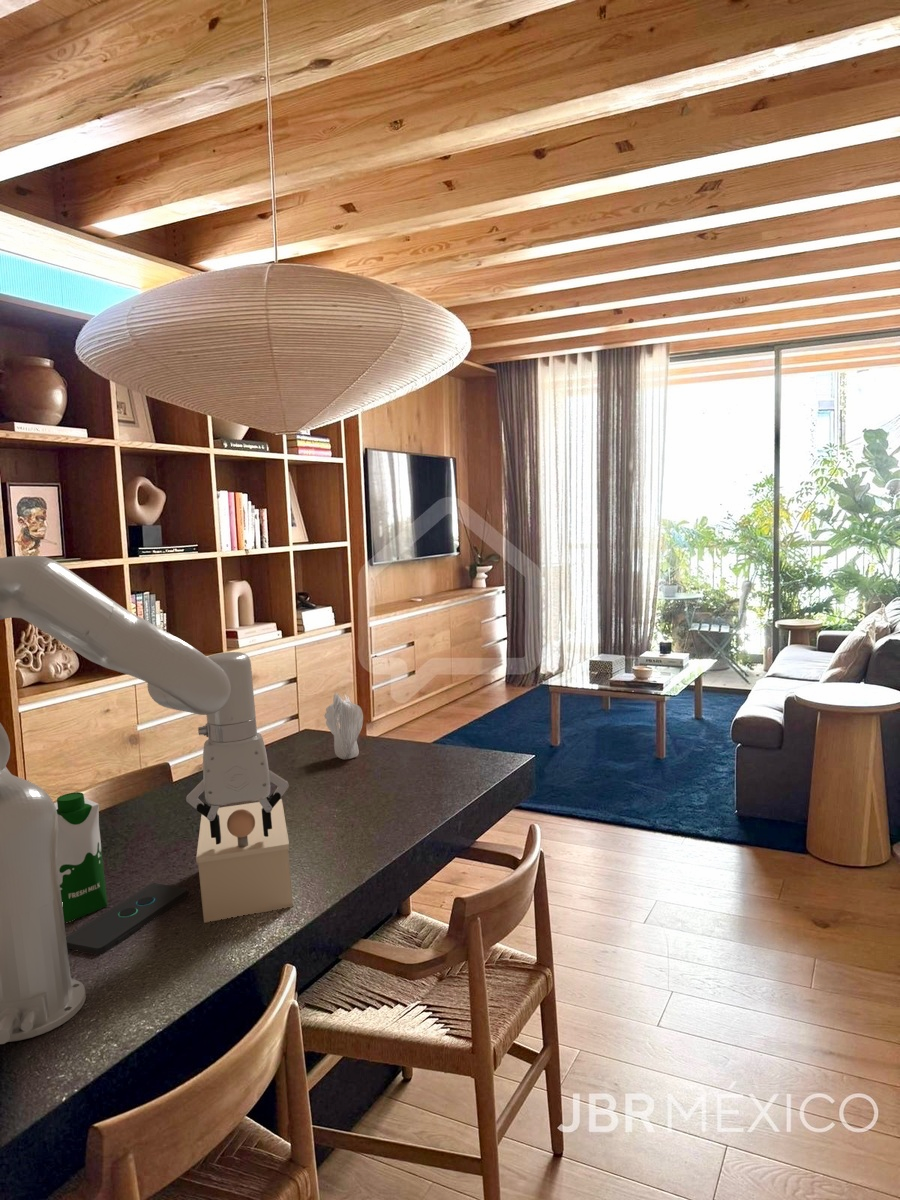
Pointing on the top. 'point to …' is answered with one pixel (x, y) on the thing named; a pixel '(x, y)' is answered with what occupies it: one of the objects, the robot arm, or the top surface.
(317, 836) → the top surface
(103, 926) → the smart home device
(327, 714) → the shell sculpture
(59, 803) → the milk carton
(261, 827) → the lid flap
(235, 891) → the carton
